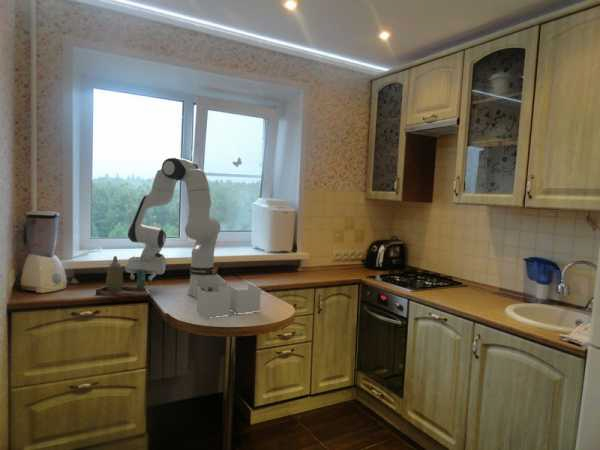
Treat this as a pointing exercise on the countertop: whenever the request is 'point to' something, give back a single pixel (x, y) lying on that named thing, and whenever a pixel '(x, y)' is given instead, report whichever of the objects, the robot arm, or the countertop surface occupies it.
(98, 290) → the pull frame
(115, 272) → the squeeze bottle
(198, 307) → the storage container
